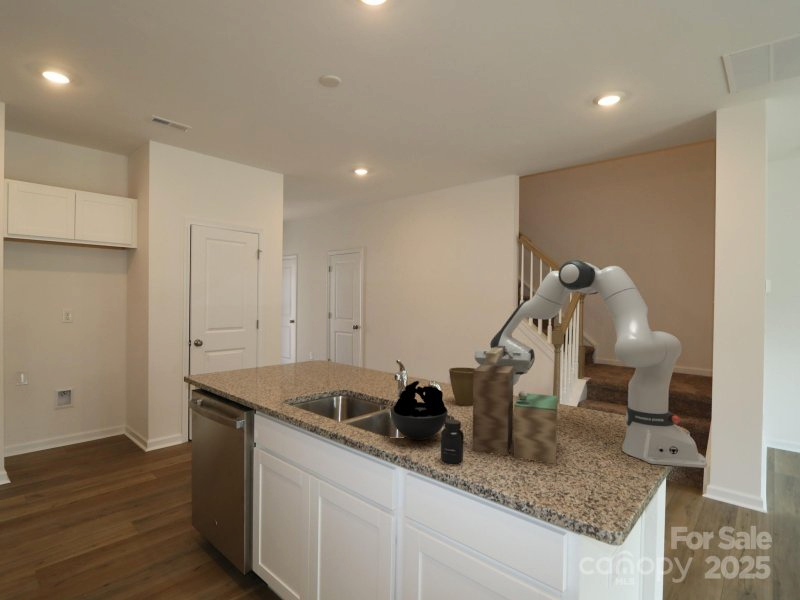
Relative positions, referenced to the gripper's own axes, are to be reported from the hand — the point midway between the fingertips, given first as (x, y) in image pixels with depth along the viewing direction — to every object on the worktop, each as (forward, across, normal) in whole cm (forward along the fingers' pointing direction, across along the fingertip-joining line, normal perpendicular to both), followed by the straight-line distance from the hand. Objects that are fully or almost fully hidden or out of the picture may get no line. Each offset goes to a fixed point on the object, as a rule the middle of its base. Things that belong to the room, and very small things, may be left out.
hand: (499, 349), depth 148 cm
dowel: (+6, 0, +6) cm, 9 cm away
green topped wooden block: (-7, +13, +32) cm, 35 cm away
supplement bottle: (+10, -10, +42) cm, 44 cm away
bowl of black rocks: (-3, -26, +34) cm, 43 cm away
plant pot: (-49, -22, +7) cm, 54 cm away
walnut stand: (-5, 0, +33) cm, 33 cm away
